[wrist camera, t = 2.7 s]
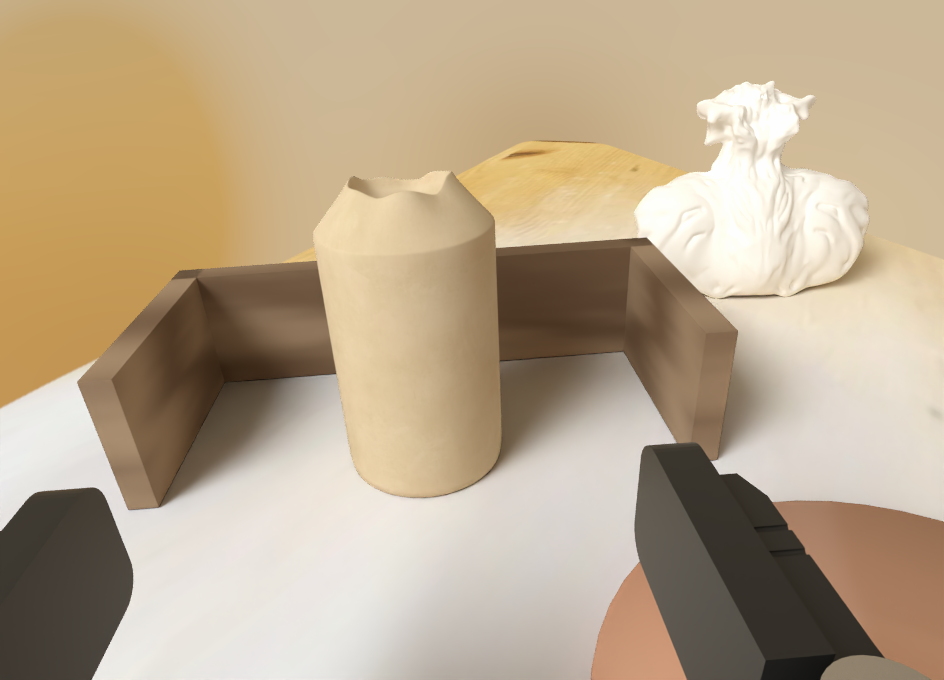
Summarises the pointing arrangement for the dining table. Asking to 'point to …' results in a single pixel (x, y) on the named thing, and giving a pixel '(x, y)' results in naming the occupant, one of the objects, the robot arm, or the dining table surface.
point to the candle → (414, 330)
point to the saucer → (845, 566)
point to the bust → (755, 205)
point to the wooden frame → (310, 353)
